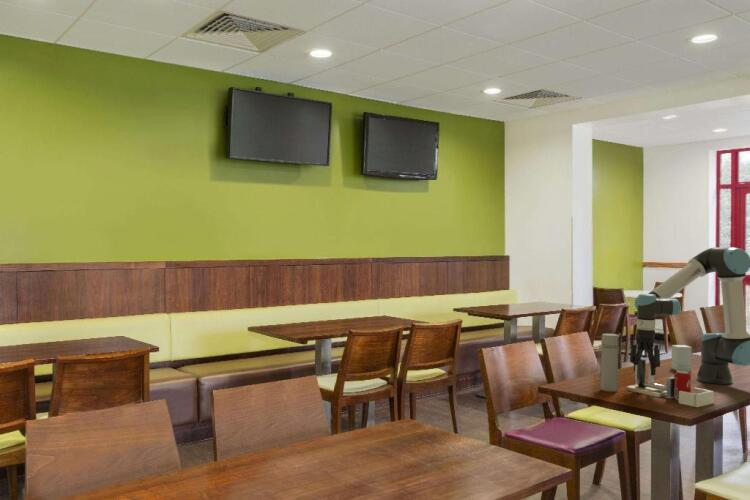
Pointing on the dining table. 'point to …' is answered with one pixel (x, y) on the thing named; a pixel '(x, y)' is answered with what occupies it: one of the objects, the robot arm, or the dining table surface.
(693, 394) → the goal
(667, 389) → the metal lever handle
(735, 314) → the robot arm
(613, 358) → the water bottle
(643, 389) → the panel
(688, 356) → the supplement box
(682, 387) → the beverage can
